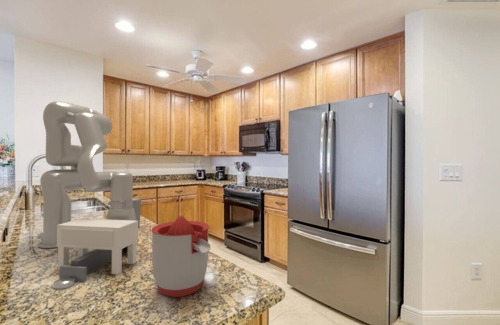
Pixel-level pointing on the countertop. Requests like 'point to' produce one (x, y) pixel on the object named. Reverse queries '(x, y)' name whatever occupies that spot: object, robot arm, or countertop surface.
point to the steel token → (64, 283)
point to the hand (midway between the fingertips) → (121, 252)
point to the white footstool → (98, 239)
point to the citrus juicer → (180, 256)
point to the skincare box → (137, 209)
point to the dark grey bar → (86, 264)
